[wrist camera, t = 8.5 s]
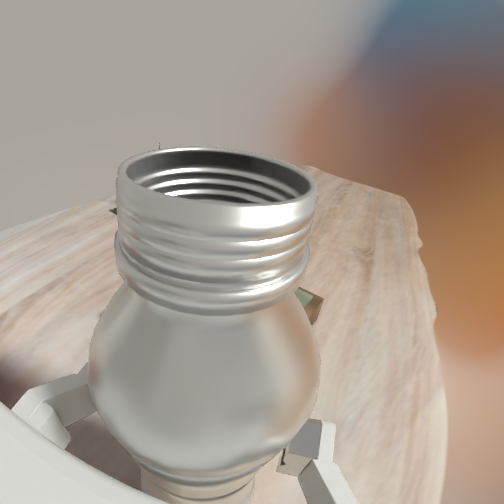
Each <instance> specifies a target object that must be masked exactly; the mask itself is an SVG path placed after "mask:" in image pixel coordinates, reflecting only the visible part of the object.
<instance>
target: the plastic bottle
mask: <svg viewBox="0 0 504 504" xmlns="http://www.w3.org/2000/svg"><path fill="white" fill-rule="evenodd" d="M318 187H319V186H318V184H317V181H316V180H315V179H314V178H313V177H312V176H311V175H310V174H308V173H307V172H305V171H304V170H302V169H300V168H298V167H296V166H294V165H292V164H290V163H287V162H285V161H282V160H279V159H276V158H273V157H269V156H265V155H261V154H257V153H253V152H247V151H242V150H235V149H228V148H227V149H226V148H217V147H174V148H164V149H158V150H152V151H148V152H144V153H141V154H138V155H135V156H133V157H130V158H129V159H127V160H125V161H124V162H123V163H122V164H121V165H120V166H119V168H118V177H117V180H116V203H117V219H118V230H117V232H116V234H115V240H114V249H115V258H116V265H117V268H118V271H119V274H120V276H121V277H122V279H123V280H124V281H125V282H124V283H123V284H122V285H121V286H120V288H119V289H118V290H117V291H116V293H115V294H114V296H113V297H112V299H111V300H110V302H109V304H108V305H107V307H106V309H105V310H104V312H103V314H102V316H101V318H100V319H99V321H98V323H97V325H96V327H95V329H94V332H93V336H92V339H91V342H90V349H89V358H88V387H89V391H90V395H91V398H92V402H93V404H94V406H95V408H96V410H97V411H98V413H99V415H100V417H101V419H102V420H103V422H104V423H105V425H106V426H107V428H108V430H109V431H110V433H111V435H112V436H113V437H114V438H115V439H116V440H117V441H118V442H119V443H120V445H121V446H122V447H123V448H124V449H125V450H126V451H127V452H128V453H129V454H130V455H131V456H132V457H133V458H134V460H135V461H136V462H137V464H138V465H139V467H140V468H141V475H140V484H141V491H142V492H144V493H146V494H148V495H151V496H153V497H156V498H158V499H160V500H163V501H165V502H168V503H170V504H251V501H252V498H253V495H254V489H255V475H256V474H257V473H258V471H259V470H260V469H261V468H262V467H263V466H264V465H265V464H266V463H268V462H269V461H270V460H271V459H272V458H274V457H275V456H276V455H277V454H278V453H279V452H280V451H282V450H283V449H284V448H285V447H286V446H287V445H288V444H289V443H290V441H291V440H292V439H293V438H294V436H295V435H296V434H297V433H298V431H299V430H300V429H301V428H302V426H303V425H304V424H305V422H306V421H307V420H308V419H309V417H310V415H311V412H312V410H313V408H314V406H315V403H316V401H317V397H318V391H319V384H320V368H321V358H320V350H319V344H318V341H317V339H316V336H315V333H314V331H313V328H312V326H311V324H310V321H309V319H308V317H307V314H306V312H305V310H304V308H303V306H302V304H301V303H300V301H299V300H298V298H297V296H296V295H295V293H294V292H295V291H296V290H297V289H298V287H299V286H300V284H301V283H302V281H303V279H304V275H305V272H306V268H307V264H308V260H309V255H310V250H309V244H308V238H309V234H310V230H311V226H312V222H313V218H314V213H315V209H316V205H317V201H318V195H317V191H318Z"/></svg>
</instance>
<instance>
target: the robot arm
mask: <svg viewBox="0 0 504 504" xmlns="http://www.w3.org/2000/svg"><path fill="white" fill-rule="evenodd" d="M96 411H97V410H96V408H95V406H94V404H93V402H92V398H91V395H90V391H89V387H88V362H87V363H86V365H85V366H84V367H83V368H82V369H81V371H80V372H79V373H78V374H77V375H76V374H72V375H69V376H66V377H63V378H60V379H57V380H55V381H52V382H49V383H46V384H43V385H40V386H37V387H34V388H31V389H28V390H27V392H26V393H25V394H24V395H23V396H22V397H21V398H20V400H19V401H18V402H17V403H16V404H15V406H14V407H13V408H12V409H11V410H10V409H9V408H7V407H6V406H5V405H4V404H3V403H2V402H0V504H170V503H168V502H165V501H163V500H160V499H158V498H156V497H153V496H151V495H148V494H146V493H144V492H142V491H139V490H137V489H135V488H133V487H131V486H129V485H127V484H125V483H122V482H120V481H118V480H116V479H115V478H113V477H111V476H109V475H107V474H105V473H103V472H101V471H99V470H98V469H96V468H94V467H92V466H91V465H89V464H87V463H85V462H84V461H82V460H80V459H79V458H77V457H75V456H74V455H72V454H71V453H69V452H67V451H66V450H65V448H66V447H67V445H68V444H69V442H70V441H71V437H70V435H69V433H68V432H67V430H66V429H65V427H67V426H69V425H71V424H73V423H75V422H77V421H79V420H81V419H83V418H85V417H87V416H89V415H91V414H93V413H94V412H96ZM335 429H336V426H335V424H334V423H330V422H325V421H321V420H316V419H310V418H309V419H308V420H307V421H306V422H305V424H304V425H303V426H302V428H301V429H300V430H299V431H298V433H297V434H296V435H295V436H294V438H293V439H292V440H291V441H290V443H289V444H288V445H287V446H286V447H285V448H284V449H283V452H282V454H281V456H280V457H279V462H278V466H277V470H276V472H279V473H283V474H288V475H292V476H297V477H298V480H299V483H300V485H301V488H302V491H303V493H304V496H305V498H306V501H307V503H308V504H358V502H357V500H356V499H355V497H354V495H353V493H352V491H351V490H350V488H349V486H348V484H347V482H346V480H345V479H344V477H343V475H342V473H341V471H340V470H339V468H338V466H337V464H336V463H334V462H332V458H333V449H334V440H335Z"/></svg>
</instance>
